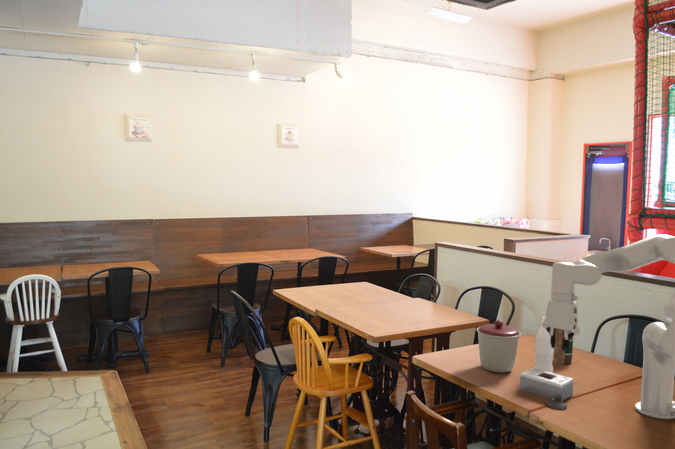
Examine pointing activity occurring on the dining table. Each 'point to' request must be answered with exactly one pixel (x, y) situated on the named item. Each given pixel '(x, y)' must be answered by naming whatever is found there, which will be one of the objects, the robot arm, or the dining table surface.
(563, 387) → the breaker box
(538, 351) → the water bottle
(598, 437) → the dining table surface
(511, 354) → the canister
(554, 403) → the coaster
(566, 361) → the beer bottle
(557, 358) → the brown wooden block
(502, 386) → the dining table surface
